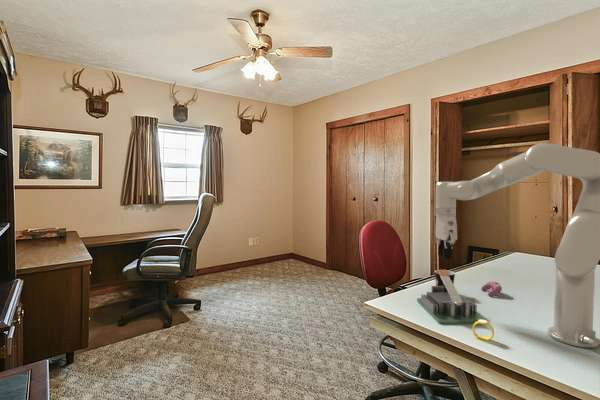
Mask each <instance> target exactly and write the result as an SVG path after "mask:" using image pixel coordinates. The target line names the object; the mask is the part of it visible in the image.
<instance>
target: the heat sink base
mask: <svg viewBox="0 0 600 400" xmlns="http://www.w3.org/2000/svg"><path fill="white" fill-rule="evenodd" d="M459 296H460V298H461V300H462V302H463V303H464V306H455V303H454V302H453V301H452V299H451V297H450V295H449V293H448V292H444V286H436V285H431V291H429V292H428V291H427V292H426V294H421V297H419V298H417V299H416V301H417V303H418V304H419V305H420V307H422V309H424V310H425V311H426V312H427V313H428V314H429V315H430V316H431V318H433V319H434V320H435V322H437V324H440V325H448V324H449V325H458V324H459V325H464V324H465V325H474V323H475V322H477V321H478V320H480V319H482V320H486V321H487V319H486V318H485V317H483V316H482V315H481V314H479V313H478V312H477V310H478V309H477V308H478V306H477V304H475V303H474V302H473V301H471V300H469V299H468V298H467V297H466V296H464V295H462V294H459Z"/></svg>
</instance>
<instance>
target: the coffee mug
mask: <svg viewBox="0 0 600 400" xmlns="http://www.w3.org/2000/svg"><path fill="white" fill-rule="evenodd" d="M438 270H439V269H437V270H434V278H435V279H434V280H435V286H444V292H448V291H447V289H446V287H445V285H444V283H443V281H442V279H441V277H440V275H439V273H438ZM445 270H446V271H447V273H448V275H449V277H450V279H451V281H452V283H453V285H454V283H455V276H456V272H454V271H452V270H447V269H445Z"/></svg>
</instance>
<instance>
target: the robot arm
mask: <svg viewBox="0 0 600 400" xmlns="http://www.w3.org/2000/svg"><path fill="white" fill-rule="evenodd" d="M543 172H548V173H551V174H557V175H561V176H566V177H571V178H575V179H579V180H580V181H581V182H582V188H581V189H582V190H581V192H580V195H579V198H578V201H577V204H576V206H575V209H574V211H573V213H572V214H571V216H570V218H569V219H568V221H567V224H566V228H565V230H564V232H563V236H562V238H561V240H560V243H559V246H558V247H557V249H556V252H555V255H554V264H555V280H554V281H555V282H554V283H555V285H554V309H553V311H554V313H553V326H551V327H549V328H548V329H547V334H548V335H549V336H550V337H551V338H553V339H555V340H556V341H559V342H561V343H563V344H567V345H570V346H575V347H580V348H586V349H588V348H589V349H591V348H597V347H599V346H600V338H598V337H596V331H595V330H594V310H595V309H594V304H595V281H596V280H595V279H596V278H595V277H596V276H595V274H596V273H595V272H596V271H595V270H596V268H597V266H598V264H599V261H600V153H599V152H597V151H595V150H589V149H583V148H577V147H571V146H570V147H569V146H565V145H560V144H554V143H548V142H540V143H536V144H534V145H532V146H530V147H529V148H528V150H527V151H524V152H522V153H519V154H518V155H516V156H514V157H511V158H509V159H507V160H504V161H501V162H500V163H499V164H498V163H497V165H496V166H494V168H493V169H492V170H490V171H487V173H484V174H482V175H480V176H478V177H475V178H473V179H471V180H459V181H438V182H437V183H436V184H435V211H434V212H435V217H436V218H435V227H434V228H435V237H436V239H437V240H436V241H437V256H442V257H443V258H444V259H452V258H453V246H454V244H455V243H456V241H457V240H458V223H457V217H456V216H457V211H456V210H457V200H458V201H470V200H475V199H478V198H481V197H483V196H486V195H488V194H491V193H493V192H495V191H497V190H499V189H503V188H506V187H509V186H511V185H513V184H516V183H518V182H521V181H524V180H526V179H528V178H532V177H534V176H536V175H538V174H541V173H543Z"/></svg>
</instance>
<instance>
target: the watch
mask: <svg viewBox="0 0 600 400" xmlns="http://www.w3.org/2000/svg"><path fill="white" fill-rule="evenodd" d="M476 325H481V326H482V325H484V326H485V325H486V326H488V328H490V330H491V332H492V334H491V335H490V336H489V337H485V336H480V335H478V333H477V332H476V331H475V327H476ZM471 329H472V330H471V331H472V333H473V335H474V336H475V337H476V338H477V339H480V340H484V341H490V340H492V339H493V337H494V335H495V331H494V327H493V326H492V325H491V324H490V323H489V321H488V320H487V319H486V320H482V319H480V320H478V321H477V322H475V323H474V324H472V328H471Z"/></svg>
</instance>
